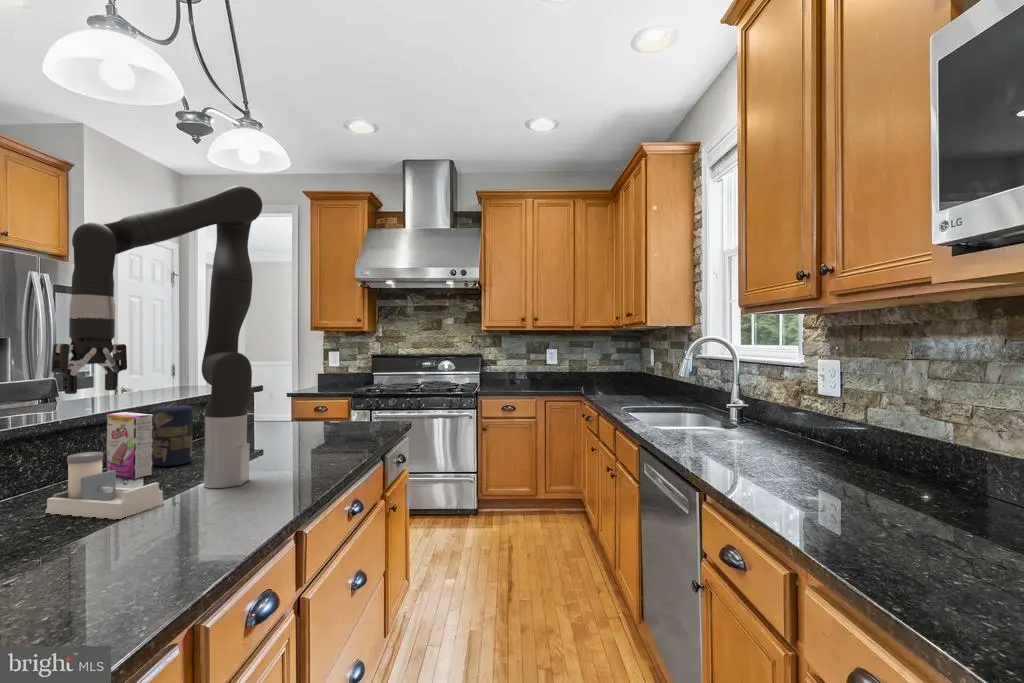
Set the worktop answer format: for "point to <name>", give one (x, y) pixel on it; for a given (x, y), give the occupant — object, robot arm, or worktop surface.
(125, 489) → the cream shallow rectangular tray
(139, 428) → the candy bar box
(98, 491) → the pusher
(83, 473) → the jar
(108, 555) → the worktop surface
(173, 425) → the canister
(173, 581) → the worktop surface
